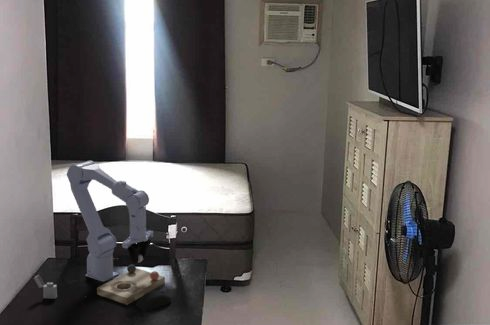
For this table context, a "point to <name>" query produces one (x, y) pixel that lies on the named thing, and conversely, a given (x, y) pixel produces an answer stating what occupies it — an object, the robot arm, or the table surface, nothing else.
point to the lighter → (47, 288)
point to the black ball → (131, 268)
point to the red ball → (154, 275)
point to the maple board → (130, 286)
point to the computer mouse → (153, 300)
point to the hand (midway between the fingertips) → (138, 260)
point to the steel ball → (140, 258)
